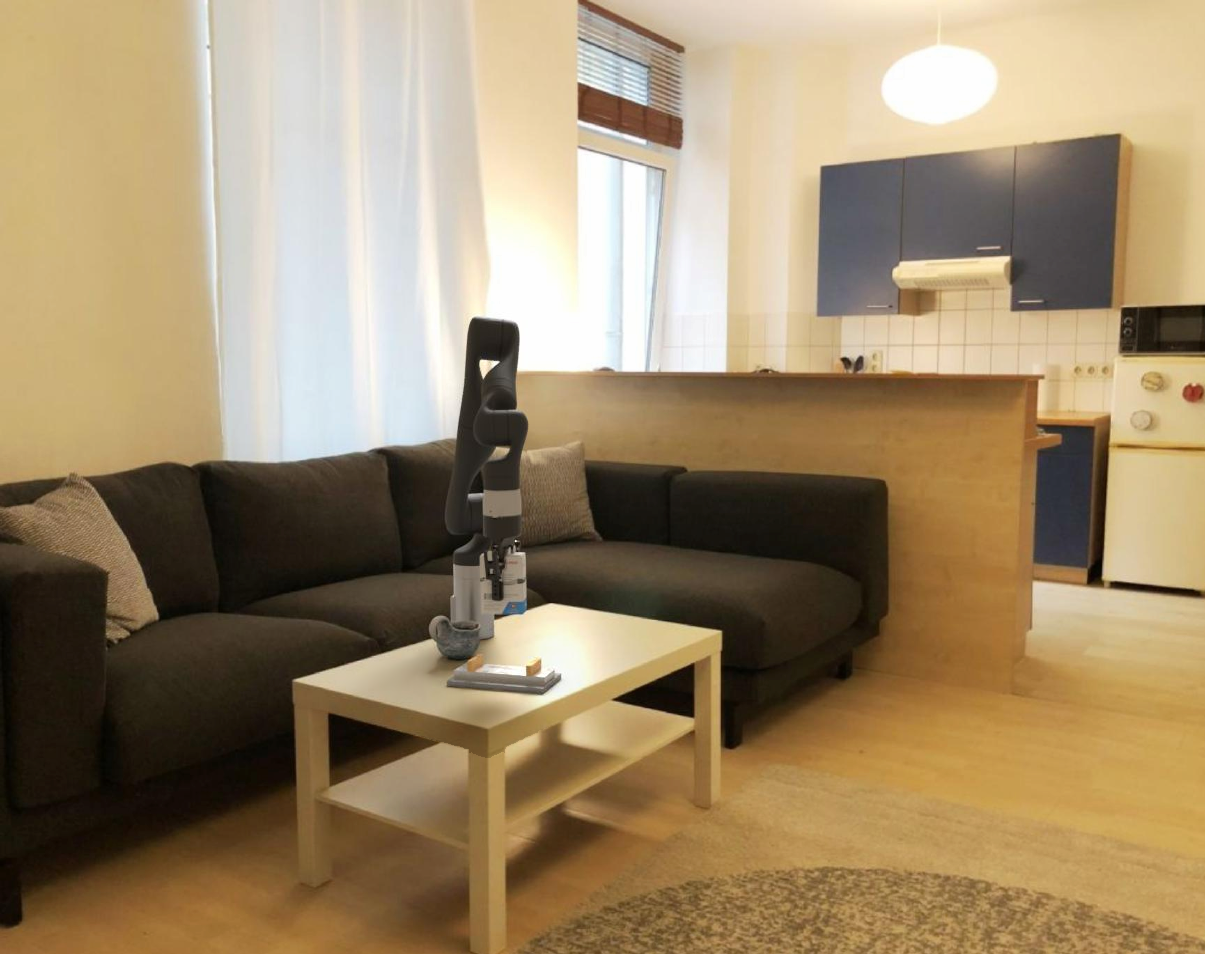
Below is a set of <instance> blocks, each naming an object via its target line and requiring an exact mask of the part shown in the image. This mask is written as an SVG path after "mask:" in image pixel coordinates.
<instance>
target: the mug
mask: <svg viewBox="0 0 1205 954" xmlns="http://www.w3.org/2000/svg"><path fill="white" fill-rule="evenodd" d="M480 629H481V625H480V624H479V623H476V622H474V621H457V622H451V620H450V619H449V618H448V617H446V616H444V615H438V616H437V615H436V616H435V617H434V618H432V619H431V622H430V623H429V626H428V631H429V633H428V634H429V636H430V637H431V639H432V640H433V641H434V642H435V643H436V647H437V650H438V651H439V653H440V654H441V655H442V656H444V657H446V658H450V659H454V660H464V659H468V658H470V657H471V656H473V655H474V654H475V653H476V652H477V651H478V650H479V649H478V648H479V645H480V640H479V631H480Z"/></svg>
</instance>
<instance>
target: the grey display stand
mask: <svg viewBox="0 0 1205 954" xmlns="http://www.w3.org/2000/svg"><path fill="white" fill-rule="evenodd" d="M484 661H485V660H484V654H483V653H477V654H476V655H475V656H473V657H471V658H470V659H468V660H467V661H466V662H465V663H463V664H461V665H460V666H459V667H457V668H455V669H453V677H450V678H449V679H447V680H446V687H456V688H457V687H459V688H467V689H480V690H481V689H483V690H494V691H495V690H496V691H504V692H519V693H530V694H539V695H540V694H541V695H542V694H544V693H546V691H548V690H549V689H550V688H551V687H553V686H555V684H556V683H558V682H559V681H560V680H561V679H562V673H558V672H556V669H554V668H543V667H542V658H539V657H536V658H535V659H533V660H532V661H531V662H529V663H528V664H527V665H525V666H515V665H505V664H504V665H503V664H489V663H484Z"/></svg>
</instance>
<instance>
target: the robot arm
mask: <svg viewBox="0 0 1205 954" xmlns="http://www.w3.org/2000/svg"><path fill="white" fill-rule="evenodd" d="M520 340H521V339H520V328H519V325H518V323H517V322H516V321H514V320H512V319H507V318H506V319H505V318H499V317H498V318H497V317H488V316H479V315H476V316H474V317H472V319H470V322H469V323H468V329H467V336H466V349H465V350H466V351H465V363H464V365H465V366H464V380H463V381H464V382H463V389H462V397H461V403H460V409H459V414H458V415H459V416H458V422H457V430H456V431H457V432H456V441H455V442H456V443H455V450H454V451H455V452H454V460H453V468H452V473H451V478H450V482H449V487H448V493H447V495H446V496H447V497H446V502H445V509H444V523H445V526H446V529H447V531H448V533H450V534H451V535H457V536H459V535H460V536H461V535H473V537H472V539H471V540H470V541H469V542H468V543H466V544H465V545H463V546H461V547H459V548H457V549H455V550H454V551H453V553H452V564H453V565H452V567H453V568H452V569H453V571H452V572H453V595H451V596H450V600H449V601H450V622H457V621H474V622H476V623H479V624H480V625H481V629H480V631H479V641H480V640H485V639H489V638H492V637H494V636H495V614H481V596H480V556H481V555H482V554H483V553H484V562H485V573H486V580H490V581H492V600H494V601H502V600H503V599H504V587H503V578H504V571H506V570H507V555H510V553H515V552H521V549H522V548H521V547H522V546H521V545H522V543H521V540H515V538H518V537H519V538H520V536H521V535H522V534H523V531H522V529H523V528H522V522H523V521H522V497H521V496H522V495H521V489H520V488H521V484H520V482H521V481H520V479H521V476H520V475H521V474H520V473H521V472H520V471H521V470H520V469H521V459H522V456H523V455H522V453H523V450H524V445H525V443H526V440H527V436H528V432H529V431H528V430H529V421H528V418H527V416H526V414H525V413H524V412H523V411H522V410H518V409H517V406H518V399H517V388H516V387H517V385H516V384H517V383H516V380H517V373H518V364H519V357H520V356H519V355H520ZM481 360H482V361H490V362H491V361H492V362H498V363H496V365H495V366H493V367H492V368H491V369H489V370H488V372H487V373H486V374H485V376H484V377H483V375H482V370H481V367H480V366H481V365H480V361H481ZM497 447H509V450H508V452H507V453H506V454H504V455H502V456H499V457H495V458H491V456H492V455H493V454H494V452H495V450H496V448H497ZM481 469H483V493H482V492H479V493H478V492H477V493H470V489H471V486H472V484H473V481H474V480H475V478H476V476H477V475H478V474H479V472H480V471H481ZM499 563H503V564H502V565H499ZM490 569H491V571H490ZM499 570H500V572H499Z"/></svg>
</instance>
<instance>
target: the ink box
mask: <svg viewBox="0 0 1205 954" xmlns="http://www.w3.org/2000/svg"><path fill="white" fill-rule="evenodd" d="M526 556H527V555H526V552H525V551H524V552H521V551H520V552H515V553H510V555H507V570H506V571H504V578H503V587H504V599H503V600H502V601H494V600H492V581H490V580H486V573H485V562H484V553H483V554H482V555H481V556H480V596H481V614H494V615H519V616H520V615H521V616H522V615H524V614H525V613H526V612H527V608H528V607H527V606H528V604H527V602H528V601H527V568H526V567H527V563H526V561H527V560H526V559H527V557H526ZM502 564H503V563H499V565H502ZM490 571H491V569H490ZM499 572H500V570H499Z"/></svg>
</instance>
